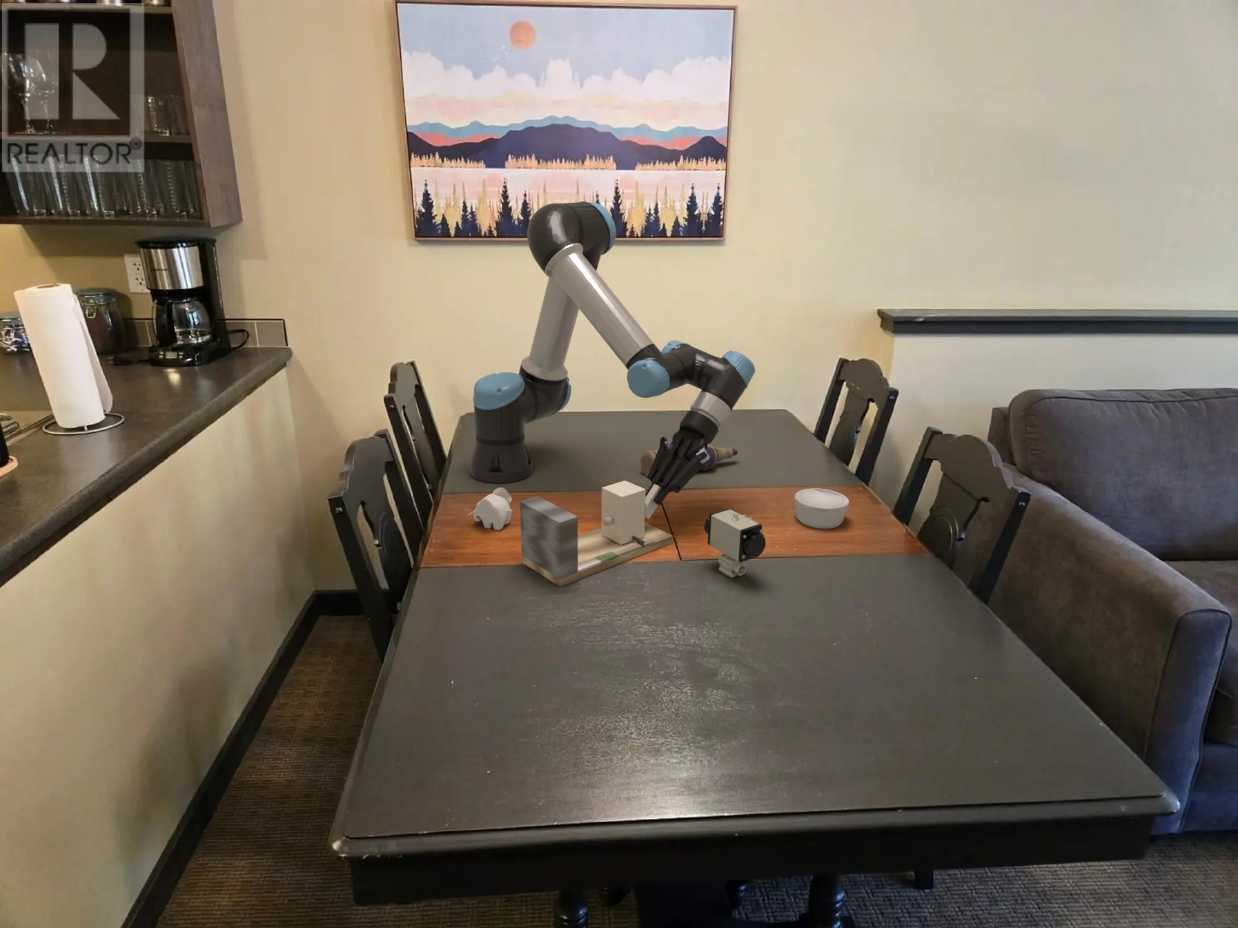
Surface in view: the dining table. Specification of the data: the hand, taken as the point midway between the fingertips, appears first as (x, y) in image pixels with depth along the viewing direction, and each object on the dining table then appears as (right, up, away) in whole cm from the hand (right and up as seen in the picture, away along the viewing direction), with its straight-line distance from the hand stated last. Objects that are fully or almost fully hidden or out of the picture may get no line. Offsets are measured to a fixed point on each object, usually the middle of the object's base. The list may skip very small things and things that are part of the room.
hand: (643, 515), depth 161 cm
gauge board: (-9, -7, -5) cm, 12 cm away
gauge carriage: (-3, -4, -3) cm, 6 cm away
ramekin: (+38, -2, +11) cm, 40 cm away
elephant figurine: (-31, -3, +7) cm, 32 cm away
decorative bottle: (+13, +8, +37) cm, 40 cm away
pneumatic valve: (+16, -10, -12) cm, 22 cm away
